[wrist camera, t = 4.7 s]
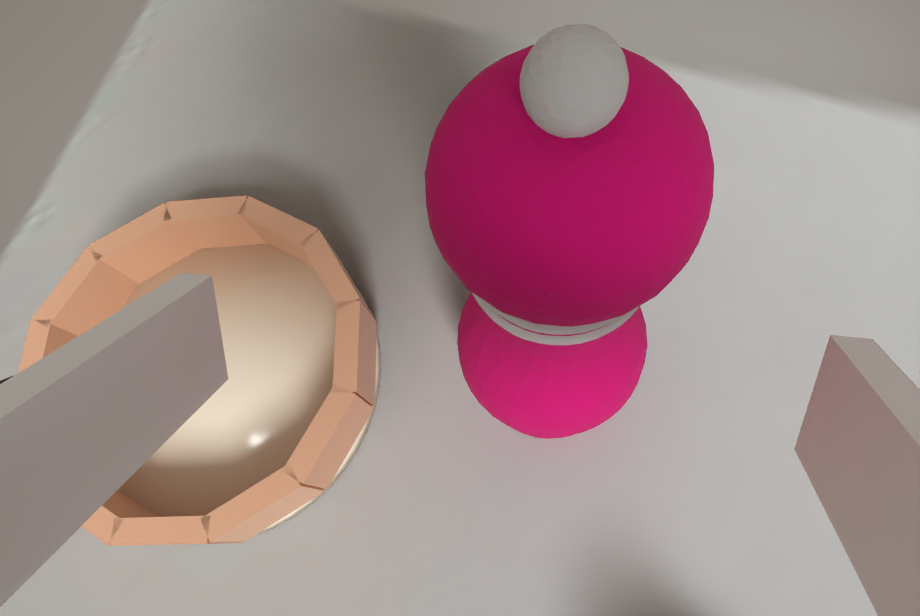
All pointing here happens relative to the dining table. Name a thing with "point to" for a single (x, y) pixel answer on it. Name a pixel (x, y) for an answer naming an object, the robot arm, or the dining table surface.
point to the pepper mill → (565, 222)
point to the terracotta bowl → (233, 368)
